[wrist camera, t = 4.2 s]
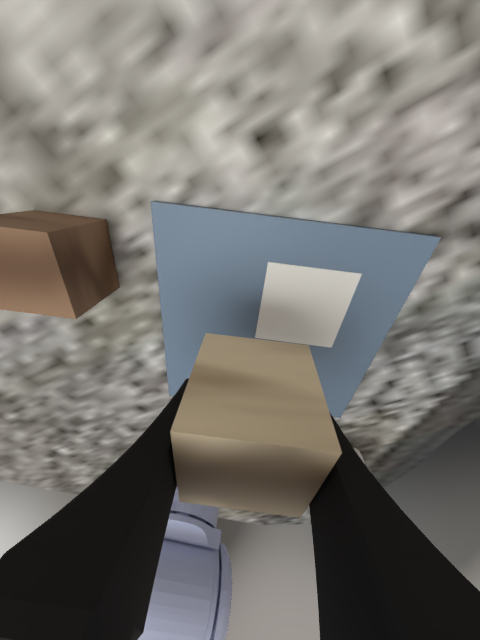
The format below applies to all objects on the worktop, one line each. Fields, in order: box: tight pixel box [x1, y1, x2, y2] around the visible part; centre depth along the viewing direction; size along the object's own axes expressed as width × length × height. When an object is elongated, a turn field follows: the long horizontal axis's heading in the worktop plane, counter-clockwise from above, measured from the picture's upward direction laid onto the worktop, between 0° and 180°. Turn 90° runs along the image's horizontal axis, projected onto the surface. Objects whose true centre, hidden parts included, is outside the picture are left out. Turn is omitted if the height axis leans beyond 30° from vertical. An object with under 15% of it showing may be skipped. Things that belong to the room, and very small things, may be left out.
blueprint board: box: [151, 201, 441, 418], centre depth 19 cm, size 18×18×1 cm
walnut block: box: [0, 211, 119, 319], centre depth 14 cm, size 5×5×5 cm
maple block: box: [170, 333, 342, 518], centre depth 10 cm, size 5×5×5 cm
